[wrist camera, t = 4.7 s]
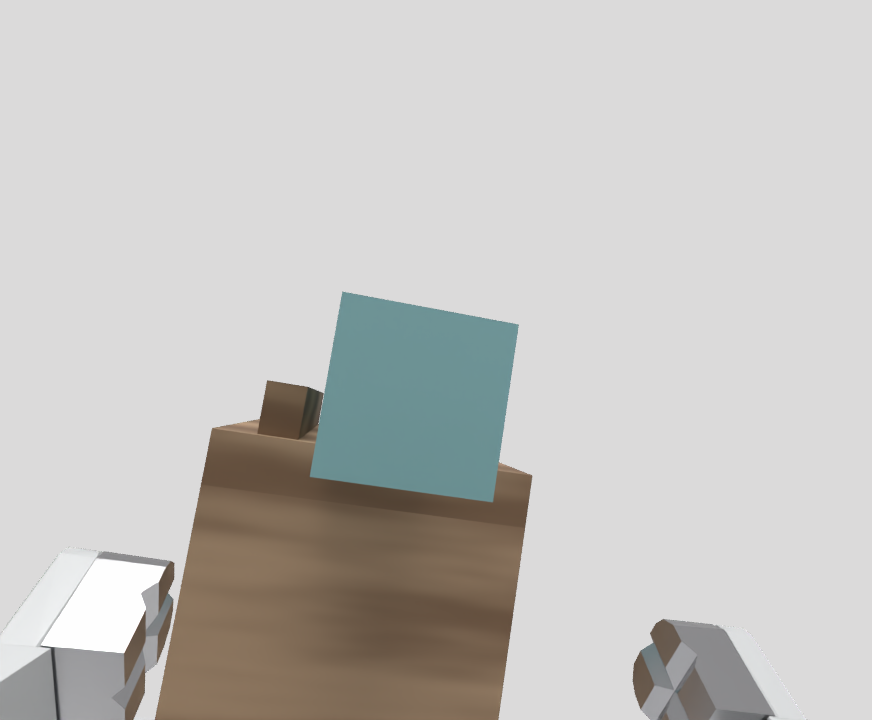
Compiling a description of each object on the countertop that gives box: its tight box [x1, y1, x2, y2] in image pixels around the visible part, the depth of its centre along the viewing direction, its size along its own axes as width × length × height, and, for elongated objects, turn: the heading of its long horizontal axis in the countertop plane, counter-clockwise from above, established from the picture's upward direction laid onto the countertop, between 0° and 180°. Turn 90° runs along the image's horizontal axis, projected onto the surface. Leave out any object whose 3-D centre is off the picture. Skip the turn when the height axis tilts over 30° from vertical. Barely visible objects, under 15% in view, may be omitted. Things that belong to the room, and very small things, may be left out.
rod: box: [310, 292, 519, 502], centre depth 23 cm, size 22×4×4 cm, turn 9°
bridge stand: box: [155, 381, 532, 720], centre depth 28 cm, size 16×12×28 cm
